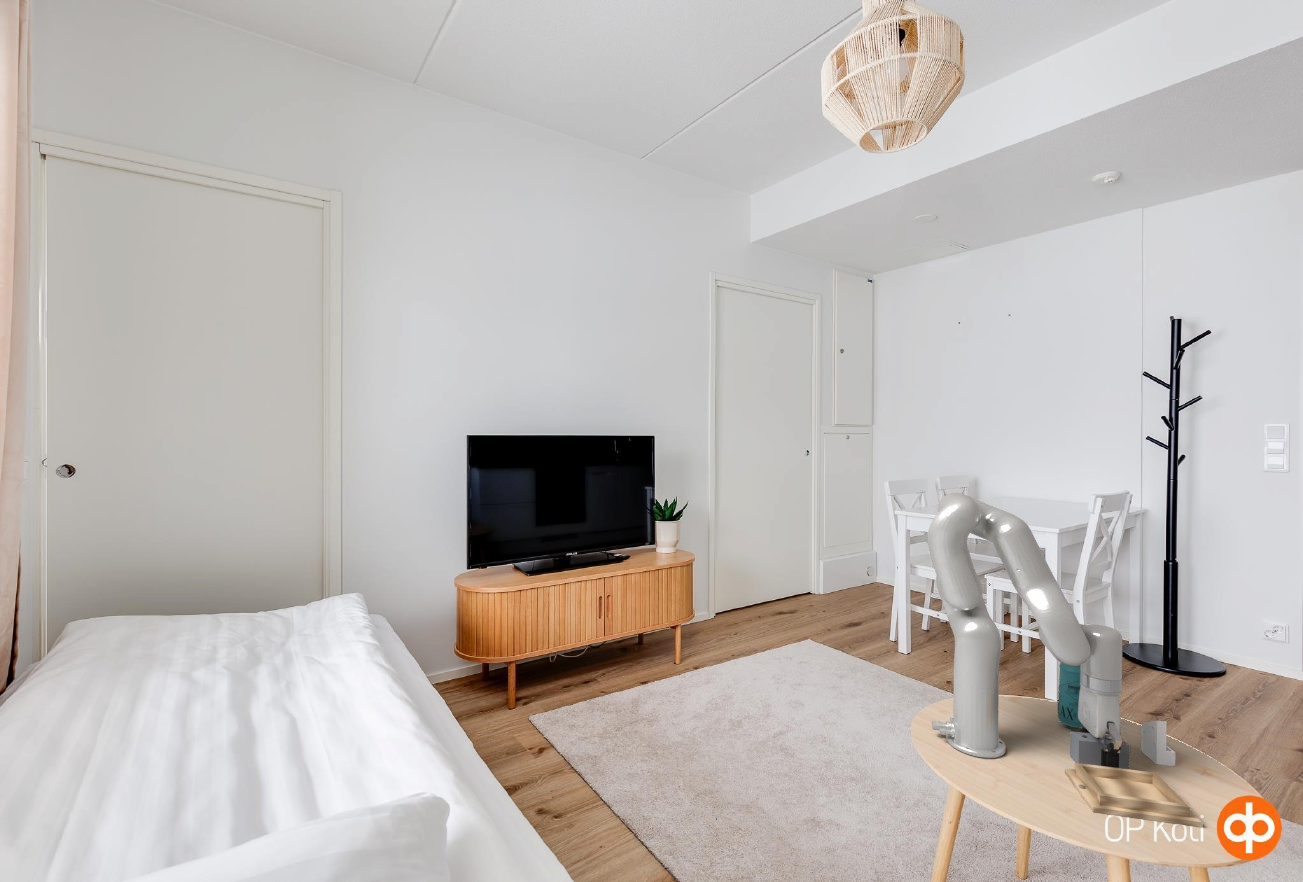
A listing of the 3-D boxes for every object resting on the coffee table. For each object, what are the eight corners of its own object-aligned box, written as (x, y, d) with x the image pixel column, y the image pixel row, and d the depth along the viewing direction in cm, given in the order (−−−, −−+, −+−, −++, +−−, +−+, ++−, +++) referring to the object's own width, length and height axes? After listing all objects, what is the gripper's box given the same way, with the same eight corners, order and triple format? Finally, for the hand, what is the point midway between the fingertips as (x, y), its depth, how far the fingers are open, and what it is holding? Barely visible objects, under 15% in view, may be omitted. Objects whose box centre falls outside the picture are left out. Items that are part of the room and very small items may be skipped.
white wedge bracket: (1169, 764, 132) (1157, 720, 136) (1144, 764, 141) (1134, 723, 145) (1188, 766, 131) (1175, 722, 135) (1162, 766, 140) (1151, 725, 144)
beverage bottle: (1052, 720, 156) (1053, 644, 156) (1080, 722, 155) (1081, 645, 155) (1065, 733, 150) (1067, 653, 149) (1095, 735, 149) (1096, 655, 148)
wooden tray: (1093, 812, 120) (1093, 797, 119) (1064, 772, 133) (1064, 759, 133) (1202, 827, 115) (1202, 811, 115) (1161, 784, 128) (1161, 771, 128)
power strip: (1078, 766, 136) (1078, 739, 136) (1070, 757, 140) (1070, 730, 139) (1129, 771, 134) (1129, 743, 134) (1119, 761, 138) (1119, 734, 137)
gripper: (1066, 665, 145) (1065, 735, 146) (1098, 696, 129) (1097, 775, 129) (1102, 668, 143) (1101, 739, 144) (1140, 700, 127) (1138, 781, 127)
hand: (1099, 756), depth 137 cm, fingers open, 9 cm apart
